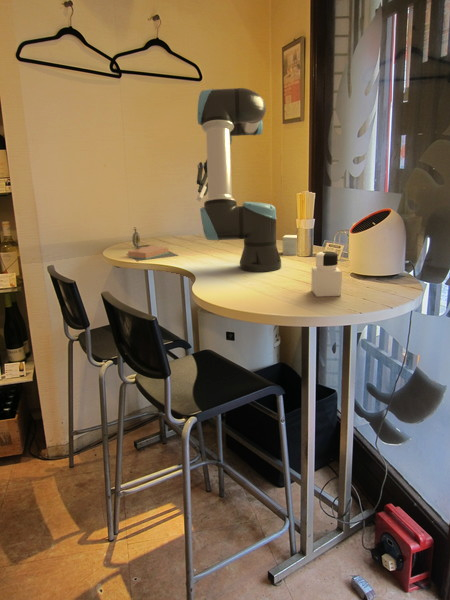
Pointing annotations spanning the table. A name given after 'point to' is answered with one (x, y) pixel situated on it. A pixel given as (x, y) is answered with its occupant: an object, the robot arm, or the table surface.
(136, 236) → the pocket watch
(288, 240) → the product box
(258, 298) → the table surface
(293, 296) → the table surface
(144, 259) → the mat
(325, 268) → the medicine bottle
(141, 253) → the tile
